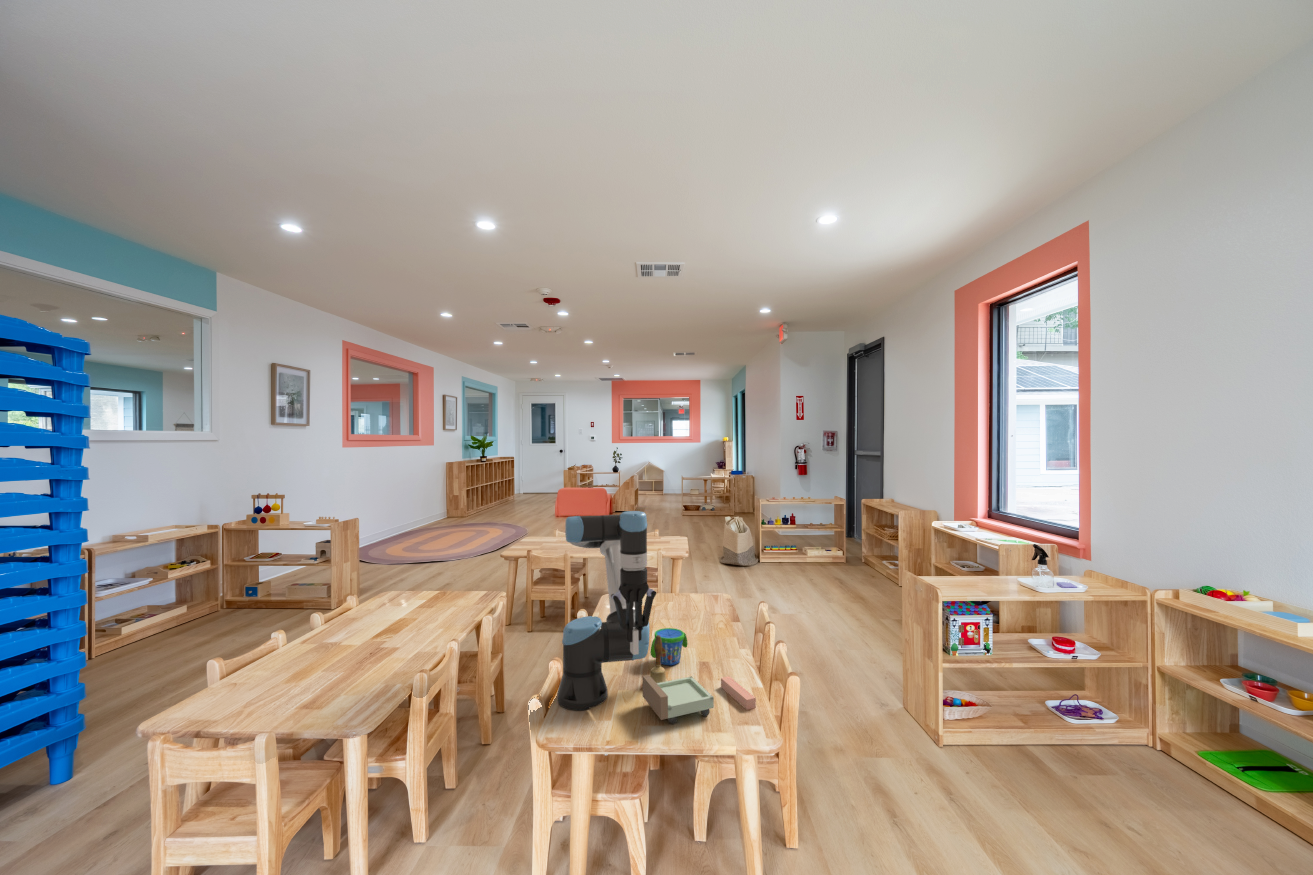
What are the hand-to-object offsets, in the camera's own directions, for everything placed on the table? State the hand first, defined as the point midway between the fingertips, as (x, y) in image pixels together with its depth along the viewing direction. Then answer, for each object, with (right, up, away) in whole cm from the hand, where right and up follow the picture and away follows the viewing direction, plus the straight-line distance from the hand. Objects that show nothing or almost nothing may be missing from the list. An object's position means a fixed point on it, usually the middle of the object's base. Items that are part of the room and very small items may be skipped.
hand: (634, 652), depth 144 cm
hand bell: (+7, -20, +21) cm, 29 cm away
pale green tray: (+12, -19, +5) cm, 23 cm away
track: (+18, -19, +7) cm, 27 cm away
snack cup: (+11, -20, +39) cm, 45 cm away
